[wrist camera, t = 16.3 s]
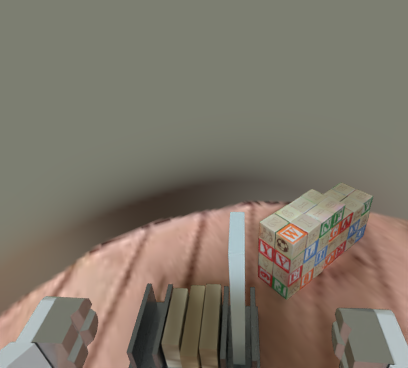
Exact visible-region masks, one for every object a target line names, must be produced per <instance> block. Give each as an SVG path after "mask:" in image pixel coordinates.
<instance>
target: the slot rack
mask: <svg viewBox="0 0 408 368" xmlns="http://www.w3.org/2000/svg"><path fill="white" fill-rule="evenodd" d="M172 293H173V284H168V289H167V293H166V297H165V301H164V302H156V299H155V295H154V291H153V287H152V284H147V287H146V290H145V294H144V297H143V300H142V303H141V307H140V310H139V313H138V317H137V320H136V323H135V327H134V330H133V333H132V336H131V340H130V343H129V346H128V350H127V355H128V357H129V360H130V365H129V368H168V366H167V363H166V359H165V355H164V352H163V348H162V339H163V335H164V330H165V325H166V321H167V316H168V312H169V307H170V302H171V298H172ZM222 307H223V316H222V333H221V349H220V366H219V368H260V352H259V328H258V307H257V306H255V287H250V306H245V365H239V364H233V344H232V323H231V305H230V303H229V286H224V301H223V305H222ZM201 368H202V366H201Z"/></svg>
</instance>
